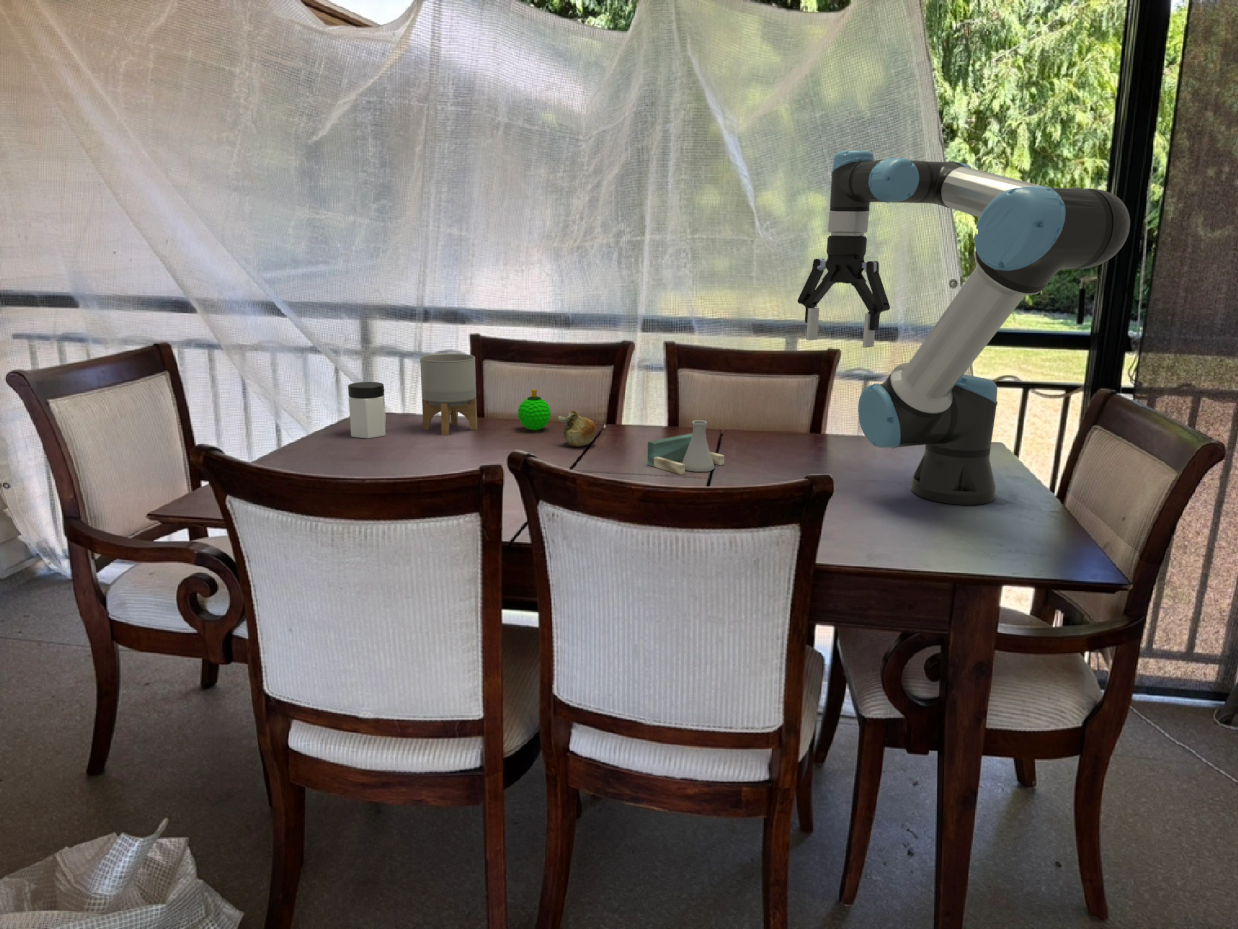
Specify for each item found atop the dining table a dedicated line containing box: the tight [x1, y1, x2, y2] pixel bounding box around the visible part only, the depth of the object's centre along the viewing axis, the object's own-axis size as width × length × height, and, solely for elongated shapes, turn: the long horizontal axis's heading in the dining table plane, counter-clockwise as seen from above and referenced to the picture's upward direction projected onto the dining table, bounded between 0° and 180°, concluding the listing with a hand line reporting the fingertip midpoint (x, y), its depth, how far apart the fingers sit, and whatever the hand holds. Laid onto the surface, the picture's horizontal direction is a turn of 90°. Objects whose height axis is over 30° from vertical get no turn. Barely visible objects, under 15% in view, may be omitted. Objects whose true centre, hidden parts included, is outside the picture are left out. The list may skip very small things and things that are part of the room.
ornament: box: [517, 389, 552, 431], centre depth 219 cm, size 8×8×10 cm
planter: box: [419, 352, 478, 437], centre depth 217 cm, size 13×13×18 cm
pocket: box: [647, 432, 725, 475], centre depth 190 cm, size 10×13×5 cm
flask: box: [681, 419, 716, 473], centre depth 187 cm, size 7×7×10 cm
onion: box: [557, 410, 597, 448], centre depth 205 cm, size 8×8×8 cm
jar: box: [347, 381, 387, 439], centre depth 212 cm, size 9×8×12 cm
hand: (839, 343), depth 181 cm, fingers open, 13 cm apart
